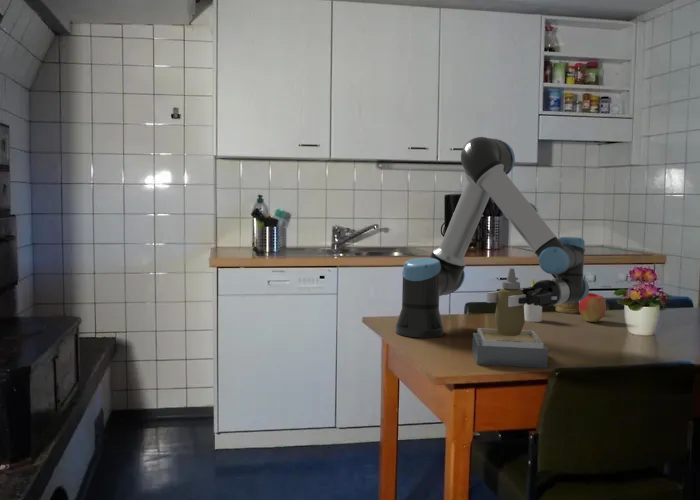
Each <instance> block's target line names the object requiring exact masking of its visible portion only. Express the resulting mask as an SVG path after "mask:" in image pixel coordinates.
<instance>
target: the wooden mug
mask: <svg viewBox="0 0 700 500" xmlns="http://www.w3.org/2000/svg"><path fill="white" fill-rule="evenodd" d="M550 275H551V277H553V279H556V277H557V274H550ZM579 303H580V301H577V302H574V303H563V304H557V305H556V307H555V312H557V313H561V314H568V313H569V314H573V315H577V314H580V311H579ZM576 313H577V314H576Z"/></svg>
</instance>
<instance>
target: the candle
mask: <svg viewBox="0 0 700 500" xmlns="http://www.w3.org/2000/svg"><path fill="white" fill-rule="evenodd" d="M535 283H536V281H535V279H534V278H532V281H531V283H530V284H531V286H530V287H533V285H534V284H535ZM524 316H525V322H529V321H530V322H532V323H541V322H542V321H543V319H542V318H543V307H542V306H539V305H537V306H535V305H534V303H533V304H531V305H528V304H527V303H526V305H524ZM540 321H541V322H540Z"/></svg>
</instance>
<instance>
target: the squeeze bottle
mask: <svg viewBox="0 0 700 500" xmlns="http://www.w3.org/2000/svg"><path fill="white" fill-rule="evenodd" d="M501 284H502V287H501V288H500V289H501V290H499V292H498V299H497V302H496V305H495V306H496V307H495V313H494V324H495V327H496V328H495V329H497V331H498V333H499V334H501V335H505V336H518V335H520V333H521V330H523V327H524V325H525V323H526V321H525V316H524V305H520V306H513V307H508V298H509V296H515V295H522V294H523V292H522V291H521V290H519V288H521V282H519V281H517V278H516V272H515V268H512V267H511V268H509V271H508V274H507V278H506V280H504V281H502V283H501Z"/></svg>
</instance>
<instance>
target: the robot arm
mask: <svg viewBox="0 0 700 500" xmlns="http://www.w3.org/2000/svg"><path fill="white" fill-rule="evenodd" d="M460 152H461V153H460V162H461V164H462V165H461V166H462V167H463V170H464V171H465V173H464V176H465V178H466V182H465V185H464V187H463V189H462V191H461V195H460V197H459V199H458V202H457V204H456V207H455V210H454V212H453V214H452V216H451V219H450V221H449V223H448V226H447V229H446V231H445V233H444V236H443V238H442V241H441V243H440V246H439V247H437V248H434V249H433V250H432V253H431V255H430V257H417V258H411V259H408V260H406V261H405V262H404V263H403V269H402V290H401V291H402V295H401V298H402V299H401V300H402V303H401V310H400V312H399V315H398V319H397V321H396V323H395V333H396V334H398V335H401V336H404V337H409V338H421V339H422V338H423V339H425V338H426V339H429V338H438V337H441V336H443V335H444V334H445V333H444V324H443V320H442V316H441V313H440V297H441V296H448V295H451V294H453V293H454V292H456V291H458V290H459V289H460V288H461V287H462V285H463V283H464V280H465V267H466V265H467V262H466V259H465V255H466V253H467V251H468V248H469V246H470V244H471V241H472V239H473V236H474V234H475V232H476V231H477V228H478V225H479V223H480V220H481V219H482V215H483V213H484V211H485V208H486V206H487V204H488V202H489V200H490V198H491V200H492V201H493V202H494V203H495V204H496V206H497V207H498V209H499V210H500V211H501V212H502V213H503V215H504V216H505V217H506V218H507V220H508V222H510V224H511V225H512V226H513V227H514V229H515V230H516V231H517V232H518V234H519V235H520V236H521V238H522V239H523V240H524V242H525V243H526V244H527V245H528V246H529V248H530V249H531V250H532V252H533V253H534V254H535V255H536V257H537V258H538V264H539V267H540V268H541V270H542V271H543V272H544V273H546V274H550V275H551V274H557V277H556V279H555V278H550V279H542V280H537V281H535V284H534V285H533V287H531V286H528V287H520V288H519V290H521V291H522V292H523V294H522V295H515V296H509V298H508V307H513V306H520V305H526V303H527V304H528V305H531V304H533V303H534V305H535V306H537V305H539V306H542V308H543V307H544V308H546V307H551V306H553V307H555V308H556V305H557V304H563V303H574V302H577V301H579V302H580V300H583V299H584V298H586V297H587V295H588V293H590V285H589V284H588V281H587V280H586V278H584V266H585V265H584V262H585V252H586V248H585V247H586V246H585V239H584V238H581V237H575V236H561V237H559V238H558V237H557V235H555V233H554V231H552V229H551V228H550V226H548V223H546V222H545V220H544V219H543V218H542V217H541V215H540V214H539V213H538V212H537V211H536V209H535V208H534V207H533V206H532V205H531V203H530V202H529V201H528V199H527V198H526V197H525V195H524V194H523V193H522V192H521V190H520V189H519V187H517V186H516V184H515V183H514V182H513V181H512V180H511V179H510V177H509V176H508V174H510V172H511V171H512V170H513V168H514V165H515V162H516V161H515V160H516V158H515V153H514V150H513V148H512V147H511V146H510V145H509V143H507V142H505V141H503V140H501V139H498V138H491V137H490V138H489V137H485V136H478V137H474V138H472V139H470V140H469V141H467V142H466V143H465V145H464V146H463V148H462V149H461V151H460ZM501 289H502V288H498V289H496V291H490V292H487V293H486V303H488V304H490V303H491V304H492V303H497V299H498V292H499V290H501Z"/></svg>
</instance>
